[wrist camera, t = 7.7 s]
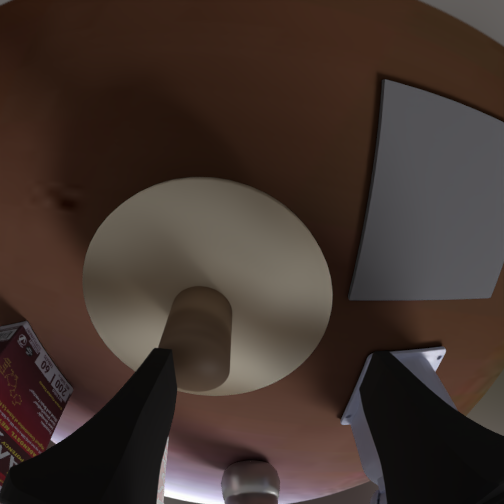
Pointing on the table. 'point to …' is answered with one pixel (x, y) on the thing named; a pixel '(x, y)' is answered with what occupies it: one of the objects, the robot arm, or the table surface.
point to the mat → (432, 201)
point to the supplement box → (27, 396)
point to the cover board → (208, 284)
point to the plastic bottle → (250, 483)
